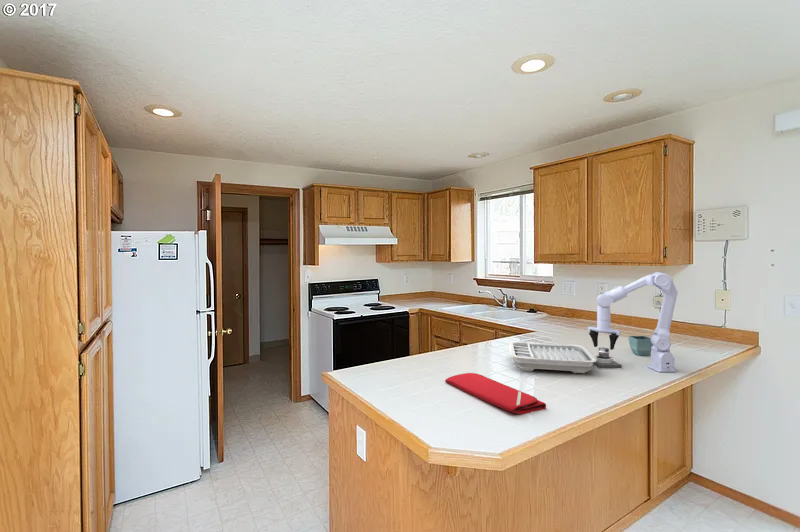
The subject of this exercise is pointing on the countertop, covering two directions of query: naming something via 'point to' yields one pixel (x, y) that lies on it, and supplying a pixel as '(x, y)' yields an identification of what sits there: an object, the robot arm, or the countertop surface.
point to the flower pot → (640, 345)
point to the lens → (603, 353)
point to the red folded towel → (496, 393)
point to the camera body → (606, 363)
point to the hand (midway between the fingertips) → (603, 348)
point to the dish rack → (551, 357)
